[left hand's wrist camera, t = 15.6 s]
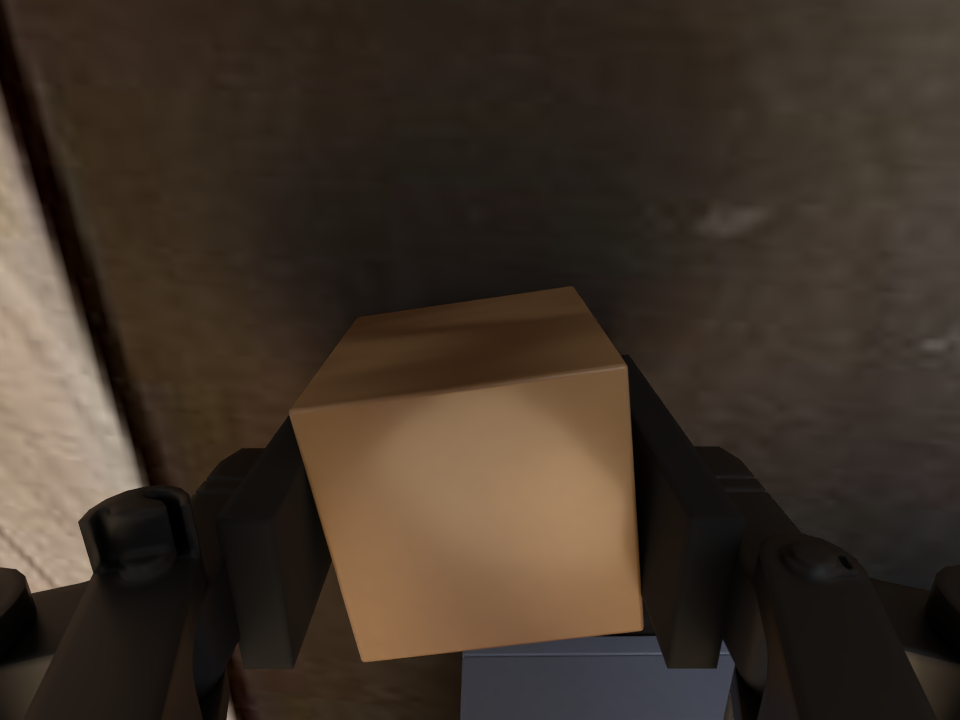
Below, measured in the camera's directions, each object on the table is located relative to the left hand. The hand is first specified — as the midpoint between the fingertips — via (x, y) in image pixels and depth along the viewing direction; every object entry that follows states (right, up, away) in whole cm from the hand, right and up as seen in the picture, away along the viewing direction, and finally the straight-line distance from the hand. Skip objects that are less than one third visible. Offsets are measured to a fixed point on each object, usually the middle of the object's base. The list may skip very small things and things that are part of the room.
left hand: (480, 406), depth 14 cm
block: (0, 0, 0) cm, 0 cm away
